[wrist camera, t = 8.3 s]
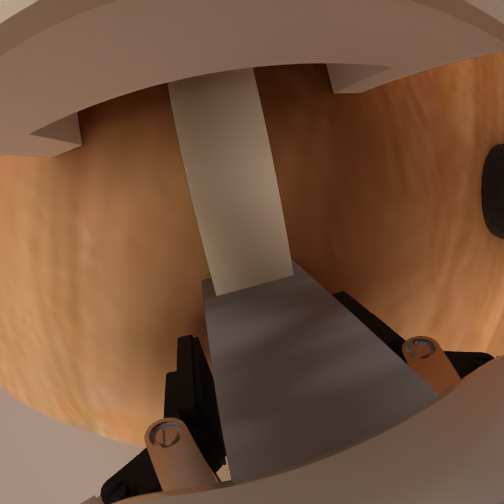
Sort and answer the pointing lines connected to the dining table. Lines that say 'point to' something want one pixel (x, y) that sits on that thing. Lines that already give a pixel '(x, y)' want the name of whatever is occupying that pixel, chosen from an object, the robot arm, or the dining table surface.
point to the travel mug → (494, 191)
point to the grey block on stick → (273, 300)
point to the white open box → (212, 50)
